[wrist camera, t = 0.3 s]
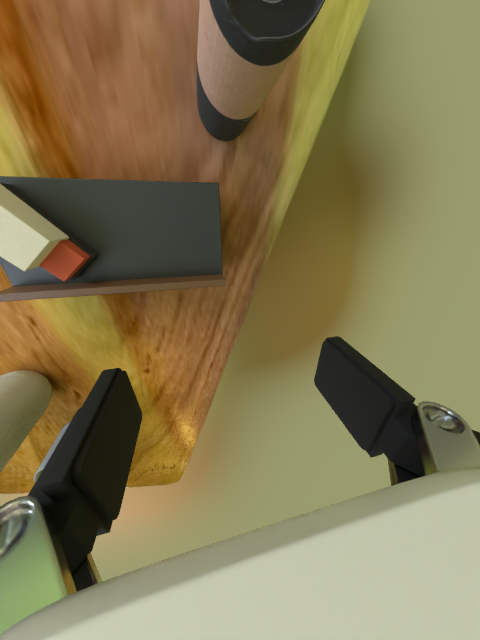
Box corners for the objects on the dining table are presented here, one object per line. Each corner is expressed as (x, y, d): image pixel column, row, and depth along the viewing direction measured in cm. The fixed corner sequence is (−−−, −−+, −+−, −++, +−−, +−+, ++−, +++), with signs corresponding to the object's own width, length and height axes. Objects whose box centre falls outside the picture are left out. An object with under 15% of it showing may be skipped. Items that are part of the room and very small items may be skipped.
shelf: (3, 183, 26) (-88, 168, 18) (213, 189, 32) (221, 179, 23) (49, 278, 32) (-3, 302, 24) (217, 269, 38) (225, 286, 29)
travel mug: (242, 60, 26) (346, -253, 8) (254, 136, 30) (343, 27, 12) (186, 75, 25) (176, -225, 8) (206, 150, 29) (229, 57, 12)
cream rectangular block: (-12, 214, 22) (-67, 214, 17) (10, 184, 21) (-41, 175, 17) (78, 277, 27) (54, 290, 22) (99, 254, 26) (79, 263, 22)
